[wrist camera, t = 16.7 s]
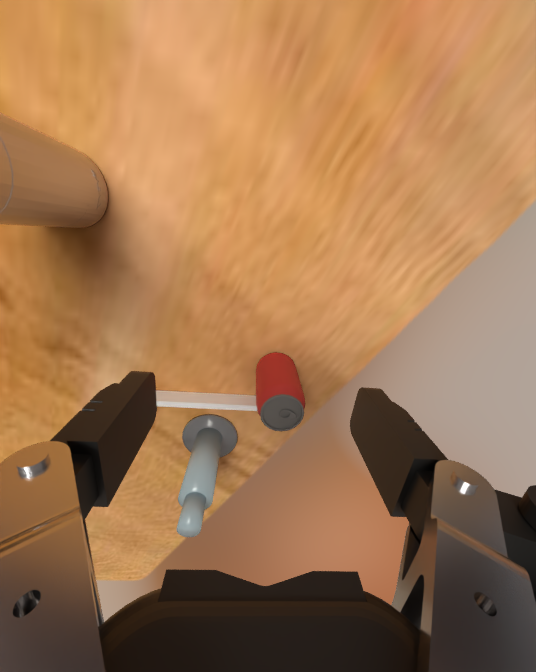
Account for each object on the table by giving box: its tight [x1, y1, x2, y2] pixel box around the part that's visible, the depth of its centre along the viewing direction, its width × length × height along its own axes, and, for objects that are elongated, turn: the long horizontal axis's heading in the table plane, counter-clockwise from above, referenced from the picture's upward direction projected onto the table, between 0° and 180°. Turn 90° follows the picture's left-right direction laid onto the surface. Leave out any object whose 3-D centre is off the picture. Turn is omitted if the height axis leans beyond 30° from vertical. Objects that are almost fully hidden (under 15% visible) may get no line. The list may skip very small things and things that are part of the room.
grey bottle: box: [177, 428, 222, 537], centre depth 40 cm, size 5×5×16 cm
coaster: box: [182, 414, 237, 458], centre depth 48 cm, size 10×10×1 cm
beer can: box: [256, 353, 305, 431], centre depth 38 cm, size 7×7×12 cm
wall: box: [156, 390, 257, 411], centre depth 44 cm, size 22×1×3 cm, turn 85°
